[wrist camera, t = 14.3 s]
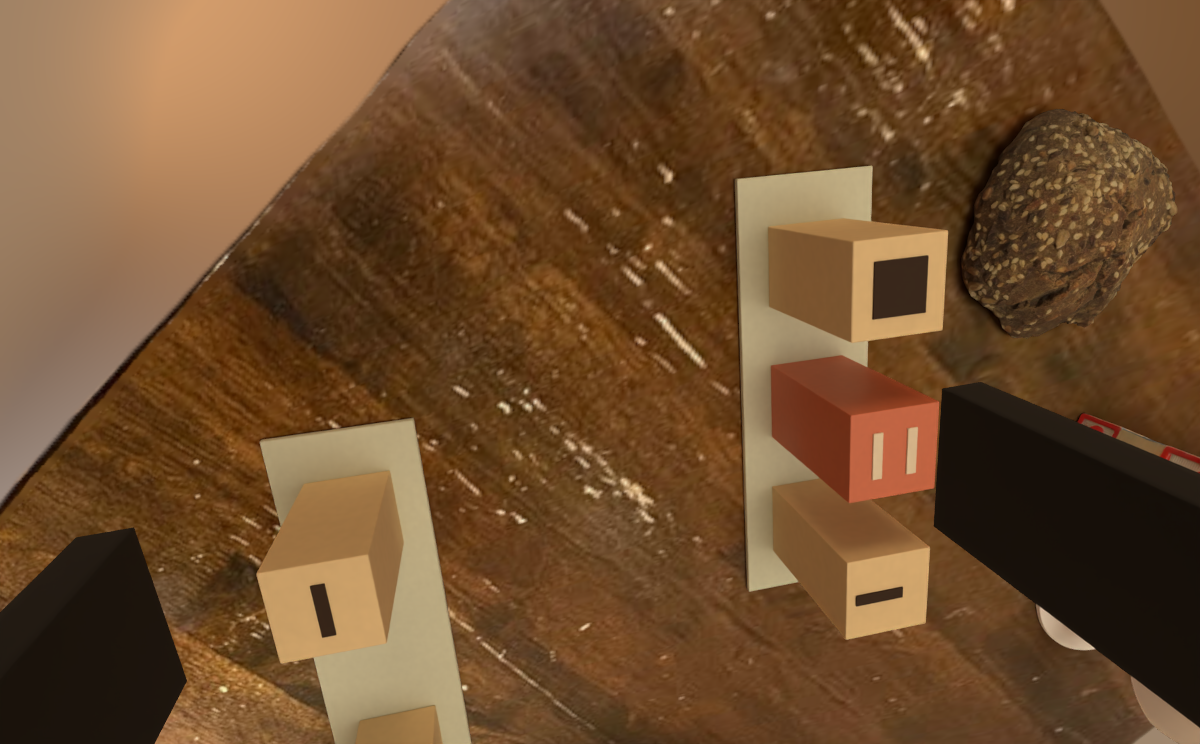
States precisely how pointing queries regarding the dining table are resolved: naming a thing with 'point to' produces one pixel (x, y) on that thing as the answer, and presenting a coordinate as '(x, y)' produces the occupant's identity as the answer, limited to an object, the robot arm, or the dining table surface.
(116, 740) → the robot arm
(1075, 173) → the bread roll
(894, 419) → the equals sign block
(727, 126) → the dining table surface
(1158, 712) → the panda figurine
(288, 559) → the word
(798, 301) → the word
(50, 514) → the dining table surface
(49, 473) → the dining table surface
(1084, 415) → the stack of blocks
